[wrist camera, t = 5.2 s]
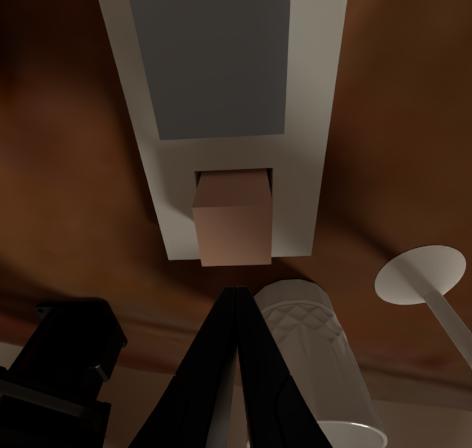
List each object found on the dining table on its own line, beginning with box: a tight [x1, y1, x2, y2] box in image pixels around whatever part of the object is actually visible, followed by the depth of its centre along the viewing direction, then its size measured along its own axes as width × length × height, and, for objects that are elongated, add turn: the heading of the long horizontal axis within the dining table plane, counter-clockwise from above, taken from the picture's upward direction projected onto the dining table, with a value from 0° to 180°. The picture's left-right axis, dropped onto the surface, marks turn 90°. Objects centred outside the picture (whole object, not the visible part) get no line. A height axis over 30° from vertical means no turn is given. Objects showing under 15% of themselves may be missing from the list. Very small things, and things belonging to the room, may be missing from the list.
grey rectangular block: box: [129, 0, 291, 140], centre depth 8 cm, size 3×3×5 cm
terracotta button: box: [192, 168, 273, 266], centre depth 14 cm, size 3×3×5 cm
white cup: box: [246, 279, 387, 448], centre depth 19 cm, size 8×8×10 cm
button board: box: [99, 0, 347, 260], centre depth 12 cm, size 9×22×2 cm, turn 3°
